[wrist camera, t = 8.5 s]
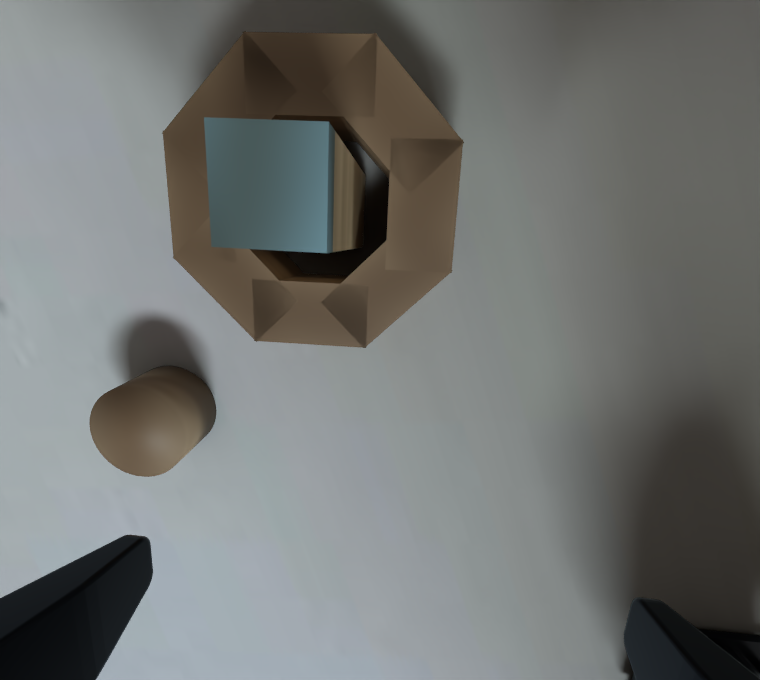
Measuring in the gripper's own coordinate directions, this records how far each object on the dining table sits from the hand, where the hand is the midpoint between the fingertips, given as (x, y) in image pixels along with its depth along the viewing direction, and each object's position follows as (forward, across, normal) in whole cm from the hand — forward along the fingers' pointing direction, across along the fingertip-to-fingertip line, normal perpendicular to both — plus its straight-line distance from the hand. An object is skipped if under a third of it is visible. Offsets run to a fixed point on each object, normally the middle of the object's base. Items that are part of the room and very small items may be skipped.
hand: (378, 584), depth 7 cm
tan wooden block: (+12, +4, -8) cm, 15 cm away
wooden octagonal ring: (+12, +4, -8) cm, 14 cm away
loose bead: (+12, +12, +3) cm, 17 cm away
